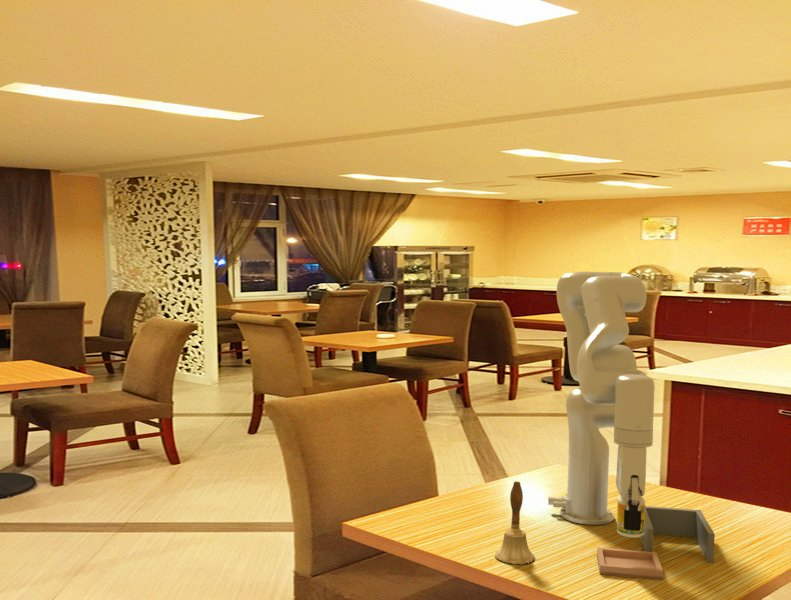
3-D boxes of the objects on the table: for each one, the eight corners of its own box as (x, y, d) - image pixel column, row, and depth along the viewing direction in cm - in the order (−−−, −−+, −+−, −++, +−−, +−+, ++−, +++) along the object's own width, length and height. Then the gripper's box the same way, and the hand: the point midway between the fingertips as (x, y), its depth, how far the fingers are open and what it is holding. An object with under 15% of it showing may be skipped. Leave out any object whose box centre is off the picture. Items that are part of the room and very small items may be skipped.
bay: (646, 556, 166) (647, 528, 166) (638, 531, 182) (639, 505, 181) (713, 562, 164) (714, 534, 163) (699, 536, 179) (700, 510, 179)
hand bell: (492, 549, 169) (494, 476, 168) (531, 550, 169) (533, 477, 168) (496, 564, 161) (498, 487, 160) (537, 565, 160) (539, 488, 160)
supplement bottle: (635, 528, 163) (636, 482, 162) (649, 537, 158) (650, 490, 157) (611, 530, 162) (613, 483, 161) (625, 538, 156) (626, 491, 156)
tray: (599, 574, 157) (600, 565, 156) (596, 555, 166) (597, 547, 166) (662, 580, 154) (663, 571, 154) (656, 560, 164) (656, 552, 164)
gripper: (610, 426, 168) (608, 510, 169) (617, 444, 151) (614, 537, 152) (647, 428, 166) (644, 513, 167) (658, 447, 150) (655, 540, 150)
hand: (630, 523), depth 160 cm, fingers closed on supplement bottle, 5 cm apart
